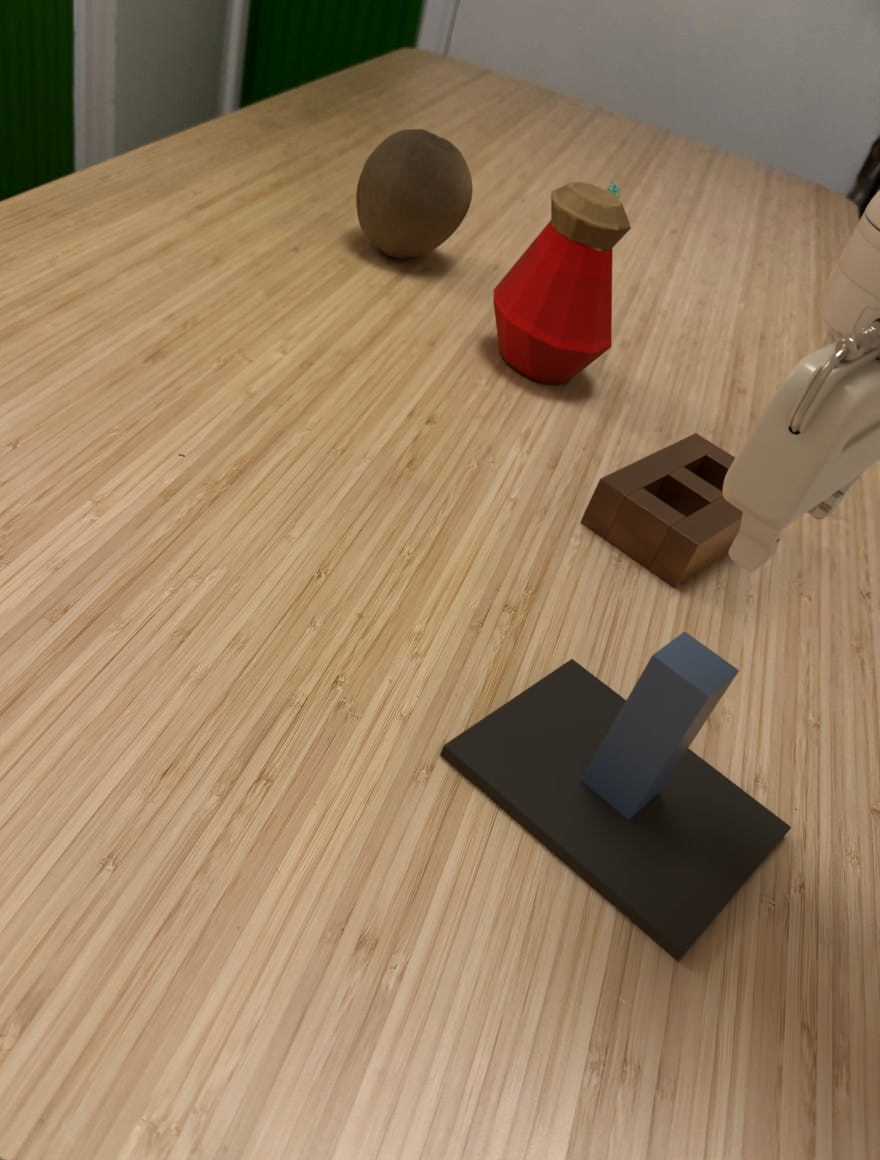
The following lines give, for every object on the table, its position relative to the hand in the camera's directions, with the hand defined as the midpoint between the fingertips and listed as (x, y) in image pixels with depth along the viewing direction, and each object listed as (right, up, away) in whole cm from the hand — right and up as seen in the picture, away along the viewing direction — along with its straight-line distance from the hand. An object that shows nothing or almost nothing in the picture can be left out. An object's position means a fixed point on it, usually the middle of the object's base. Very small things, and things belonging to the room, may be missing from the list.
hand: (781, 534), depth 59 cm
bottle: (-6, +26, +64) cm, 69 cm away
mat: (-6, -17, +14) cm, 23 cm away
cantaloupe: (-22, +45, +78) cm, 93 cm away
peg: (-6, -16, +13) cm, 22 cm away
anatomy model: (+11, +67, +117) cm, 135 cm away
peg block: (+6, +5, +44) cm, 45 cm away
